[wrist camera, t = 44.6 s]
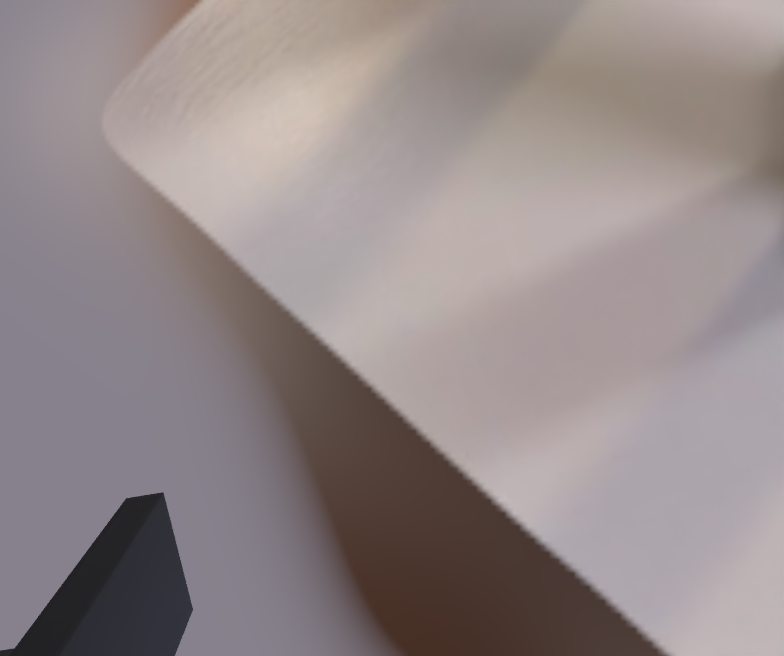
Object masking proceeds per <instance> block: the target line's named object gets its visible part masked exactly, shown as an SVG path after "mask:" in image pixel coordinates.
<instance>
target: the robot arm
mask: <svg viewBox="0 0 784 656" xmlns="http://www.w3.org/2000/svg"><path fill="white" fill-rule="evenodd" d="M192 611H193V608H192V604H191V600H190V596H189V592H188V588H187V584H186V580H185V577H184V572H183V569H182V564H181V560H180V557H179V553H178V549H177V545H176V541H175V537H174V533H173V529H172V525H171V521H170V517H169V513H168V509H167V505H166V501H165V498H164V493H157V494H151V495H144V496H138V497H132V498H126V500H125V501H124V502H123V504H122V505H121V506H120V508H119V509H118V510H117V512H116V513H115V514H114V516H113V517H112V518H111V520H110V521H109V522H108V524H107V525H106V526H105V528H104V529H103V530H102V532H101V533H100V535H99V536H98V537H97V538H96V540H95V541H94V543H93V544H92V545H91V547H90V548H89V549H88V551H87V552H86V553H85V555H84V556H83V557H82V559H81V560H80V561H79V563H78V564H77V565H76V567H75V568H74V569H73V571H72V572H71V574H70V575H69V576H68V577H67V579H66V580H65V582H64V583H63V584H62V586H61V587H60V588H59V590H58V591H57V592H56V594H55V595H54V596H53V598H52V599H51V600H50V602H49V603H48V604H47V606H46V607H45V608H44V610H43V611H42V612H41V614H40V615H39V616H38V618H37V619H36V621H35V622H34V623H33V625H32V626H31V627H30V629H29V630H28V631H27V633H26V634H25V635H24V637H23V638H22V639H21V641H20V642H19V643H18V645H17V646H16V647H15V648H14V649H8V650H2V651H0V656H175V654H176V651H177V648H178V646H179V643H180V641H181V638H182V635H183V633H184V631H185V628H186V626H187V623H188V621H189V618H190V616H191V613H192Z"/></svg>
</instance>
